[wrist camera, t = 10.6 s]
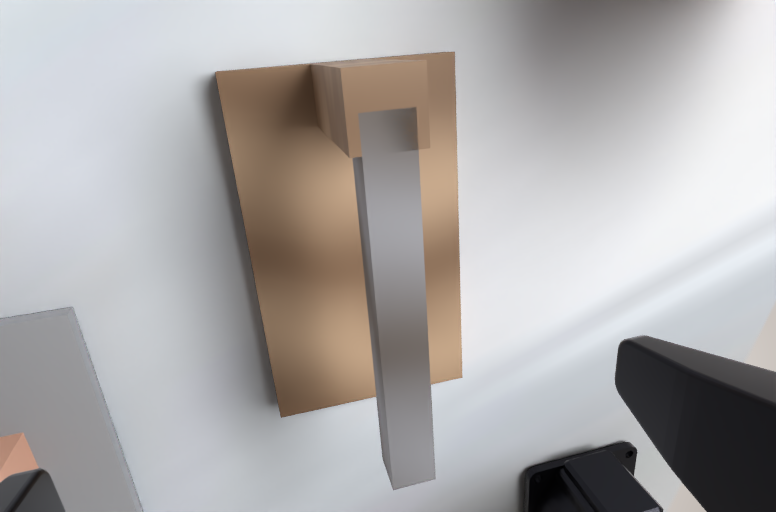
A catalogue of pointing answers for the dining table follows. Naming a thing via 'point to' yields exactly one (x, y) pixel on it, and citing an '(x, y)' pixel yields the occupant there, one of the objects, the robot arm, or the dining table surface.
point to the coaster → (62, 411)
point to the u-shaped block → (15, 455)
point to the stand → (354, 235)
